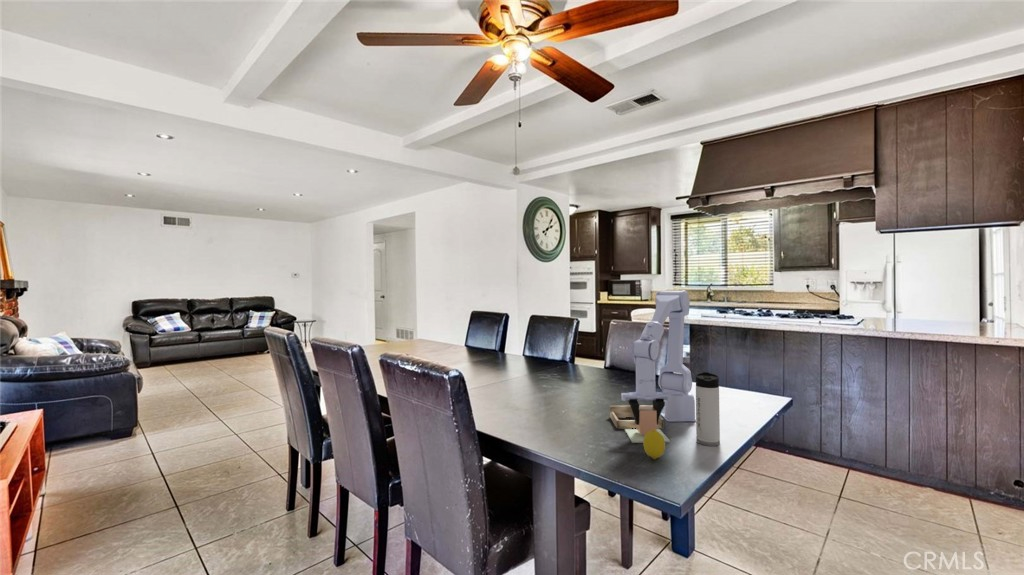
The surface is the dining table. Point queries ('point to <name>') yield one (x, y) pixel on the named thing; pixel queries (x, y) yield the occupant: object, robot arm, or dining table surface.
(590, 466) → the dining table surface
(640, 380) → the robot arm
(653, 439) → the lemon
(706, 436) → the travel mug
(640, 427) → the tan upright block
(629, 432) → the mat
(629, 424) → the frame
